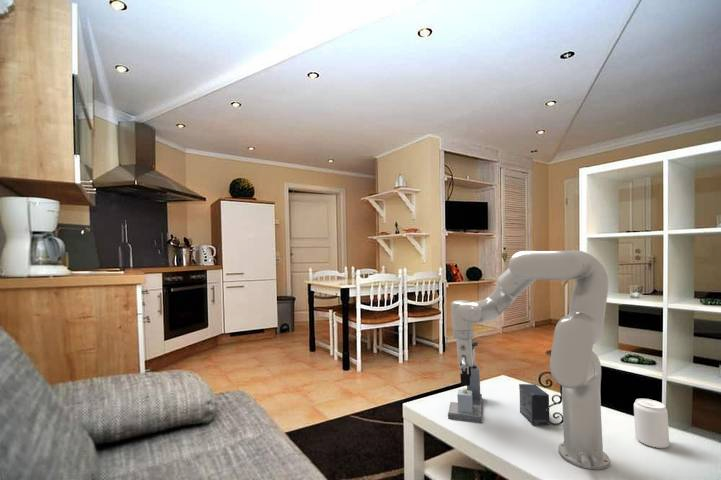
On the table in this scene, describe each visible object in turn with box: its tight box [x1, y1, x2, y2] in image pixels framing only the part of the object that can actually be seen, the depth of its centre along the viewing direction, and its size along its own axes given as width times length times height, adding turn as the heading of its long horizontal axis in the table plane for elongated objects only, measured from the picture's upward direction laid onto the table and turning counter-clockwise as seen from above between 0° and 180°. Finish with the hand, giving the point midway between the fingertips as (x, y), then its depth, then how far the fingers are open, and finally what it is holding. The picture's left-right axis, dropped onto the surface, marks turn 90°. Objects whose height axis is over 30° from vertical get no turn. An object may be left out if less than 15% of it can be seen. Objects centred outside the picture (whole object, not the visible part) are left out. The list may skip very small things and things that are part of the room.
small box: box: [518, 383, 551, 426], centre depth 126 cm, size 11×6×10 cm, turn 179°
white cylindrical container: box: [633, 398, 670, 449], centre depth 109 cm, size 8×8×12 cm
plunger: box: [471, 340, 479, 368], centre depth 143 cm, size 5×5×13 cm
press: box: [447, 364, 483, 424], centre depth 136 cm, size 22×12×13 cm, turn 161°
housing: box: [456, 388, 473, 413], centre depth 130 cm, size 5×5×7 cm
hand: (466, 380), depth 130 cm, fingers open, 9 cm apart
